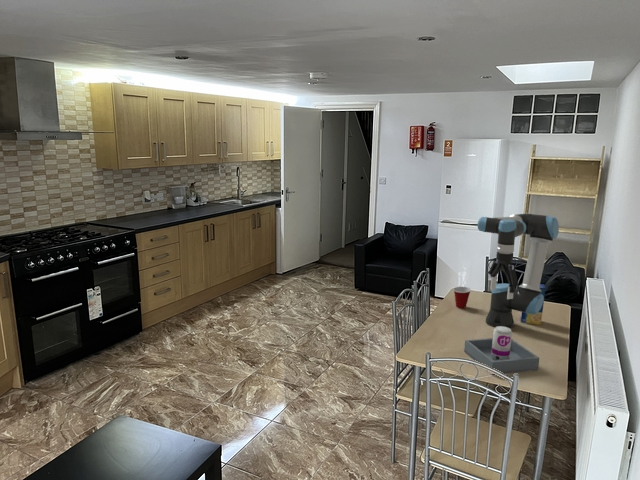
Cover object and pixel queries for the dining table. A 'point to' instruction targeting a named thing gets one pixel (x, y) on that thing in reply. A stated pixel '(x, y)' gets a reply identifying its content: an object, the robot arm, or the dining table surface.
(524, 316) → the beverage box
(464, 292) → the plastic cup
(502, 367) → the tray
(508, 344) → the supplement can
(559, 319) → the dining table surface
